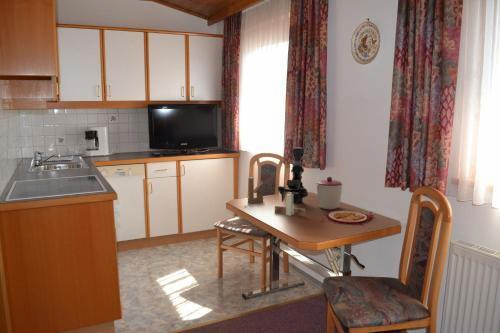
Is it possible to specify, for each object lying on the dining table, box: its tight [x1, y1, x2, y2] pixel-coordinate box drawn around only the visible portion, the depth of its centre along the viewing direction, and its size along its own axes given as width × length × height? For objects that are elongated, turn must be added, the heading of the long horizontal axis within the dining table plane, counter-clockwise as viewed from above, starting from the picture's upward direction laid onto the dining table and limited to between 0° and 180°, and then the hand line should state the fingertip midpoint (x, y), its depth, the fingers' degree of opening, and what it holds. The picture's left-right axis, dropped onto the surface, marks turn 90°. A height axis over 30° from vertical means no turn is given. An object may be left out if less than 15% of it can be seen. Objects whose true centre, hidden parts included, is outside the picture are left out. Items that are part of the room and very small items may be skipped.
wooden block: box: [247, 177, 264, 204], centre depth 287 cm, size 4×11×18 cm, turn 116°
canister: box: [315, 176, 344, 210], centre depth 270 cm, size 18×18×21 cm
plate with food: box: [320, 209, 374, 226], centre depth 245 cm, size 25×26×4 cm
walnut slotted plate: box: [274, 205, 306, 218], centre depth 255 cm, size 20×2×4 cm, turn 62°
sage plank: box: [285, 193, 294, 216], centre depth 254 cm, size 4×3×13 cm
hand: (289, 202), depth 253 cm, fingers open, 9 cm apart
